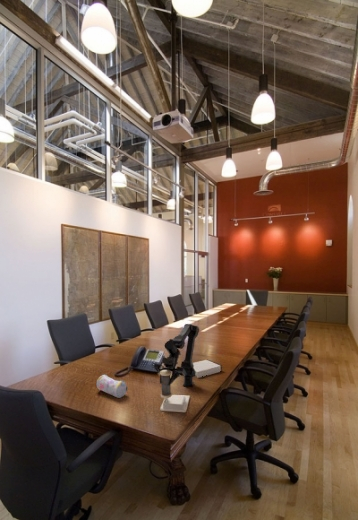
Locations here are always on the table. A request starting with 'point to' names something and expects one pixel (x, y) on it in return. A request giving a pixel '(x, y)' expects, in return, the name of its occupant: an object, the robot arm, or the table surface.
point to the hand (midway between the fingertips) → (164, 384)
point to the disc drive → (206, 368)
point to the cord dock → (175, 403)
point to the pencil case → (111, 386)
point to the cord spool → (165, 384)
